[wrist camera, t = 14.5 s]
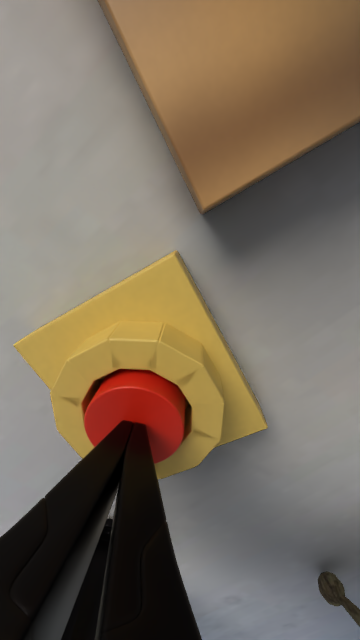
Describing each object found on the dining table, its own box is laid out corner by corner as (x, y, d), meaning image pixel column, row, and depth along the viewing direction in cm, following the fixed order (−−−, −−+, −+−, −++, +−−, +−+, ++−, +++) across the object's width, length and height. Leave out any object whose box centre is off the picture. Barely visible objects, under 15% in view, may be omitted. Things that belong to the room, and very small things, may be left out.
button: (200, 413, 10) (201, 447, 9) (130, 441, 11) (119, 478, 10) (158, 346, 9) (150, 370, 8) (83, 381, 10) (62, 411, 9)
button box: (259, 404, 13) (282, 463, 10) (133, 453, 15) (116, 518, 11) (177, 249, 10) (170, 258, 7) (35, 330, 12) (-23, 367, 9)
